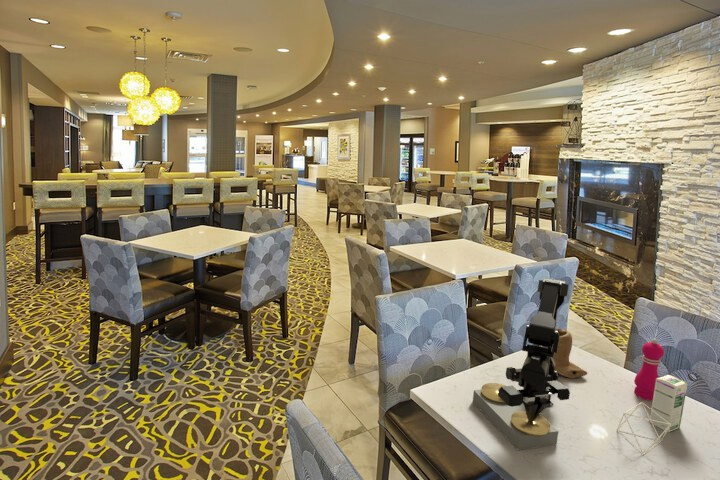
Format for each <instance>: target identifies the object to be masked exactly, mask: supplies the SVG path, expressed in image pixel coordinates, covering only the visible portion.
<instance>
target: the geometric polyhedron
mask: <svg viewBox="0 0 720 480" xmlns="http://www.w3.org/2000/svg"><path fill="white" fill-rule="evenodd" d="M641 405H642V406H643V408H644V411H645V413H646V414H647V417H648V418H646V417H642V416H638V415H633V414H634V413H635V412H636V411H637V409H638V408H639V407H640V406H641ZM646 407H647V408H648V409H650V411H651V410H652V409H651V408H652V407H649V406H648V405H647V404H646V403H644V402H643V401H641V402H639V403H638V404H636V405H635V406H633V407H632V408H630V409H628V410H626V411H625V412H623V414H622V416H621V418H620V421H619V424H618V425H617V428H616V432H618V433H619V434H620V435H621V436H622V437H623V438H624V439H625V440H626V441H627V442H629V444H631V446H632V447H634V448H635V450H637V451H638V453H640V454H641V455H643V456H646V454H648V452H650V451H652V449H653V448H655V447H656V446H658V445H659V444H660V443H661V442H662V441H663V439H664V437H665V436H666V434H667V433H668V432H667V431H668V429H669V428H670V426H671V424H670V423H669V422H668V423H664V422H660V421H656V420H651V419H650V415H649V413H648V410H647V409H646ZM633 409H634V410H633ZM631 410H632V412H631V413H630V414H629V413H628V412H630V411H631ZM652 411H653V410H652ZM653 412H654V411H653ZM655 413H656V412H655ZM656 414H657V413H656ZM657 415H658V414H657ZM658 416H660V415H658ZM630 417H635V418H639V419H643V420H647V421H651V423H650V424H651V425H652V427H653V430H654V431H655V434H656V435H657V438H656V439H655V438H653V437H648V436H647V437H646V436H643V435H639V434H635V433H634V430H633V428H632V427H631V424H630V422H629V418H630ZM660 417H661V416H660ZM623 418H625V420H624V419H623ZM661 418H662V417H661ZM662 419H664V418H662ZM623 420H624V421H623ZM664 420H665V419H664ZM622 421H623V422H622ZM652 421H655V422H660V423H664V424H668V425H669V426H668V427H667V428H666V429H665V431H664V430H663V431H662V433H661V434H660V435H659V433H658V431H657V430H656V426H655V425H653V423H652ZM665 421H666V420H665ZM666 422H667V421H666ZM625 423H627V424H628V426H629V429H630V430H631V432H628V431H624V430H620V428H622V426H623V425H624V424H625ZM623 433H626V434H629V435H632V436H633V437H634V439H635V442H636V443H637V445H638V447H639V448H637V447H636V446H635V445H634V444H633V443H632V442H631V441H630V440H628V438H627V437H625V436H624V435H623ZM636 436H637V437H642V438H645V439H650V440H653V441H654V442H653V443H652V444H651V445H650V446H649V447H648V448H647V449H646V451H644V452H643V450H642V447H641V446H640V443H639V441H638V439H637V437H636ZM661 437H662V438H661Z"/></svg>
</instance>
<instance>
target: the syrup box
mask: <svg viewBox="0 0 720 480" xmlns="http://www.w3.org/2000/svg"><path fill="white" fill-rule="evenodd" d="M658 377H659V376H658ZM687 388H688V382H687V381H684V380H683V379H681V378H678V377H675V376H673V375H670V374H667V375H662V376H660V377H659V378H656V383H655V389H654V395H653V400H652V403H651V407H650V408H651V409H652V410H653V411H654V412H653V411H652V410H651V409H650V415H649V417H650V419H651V420H656V421H660V422H664V423H668V422H669V423H670V424H671V426H670V428H669V429H668V431H667V433H671V432H672V431H675V430H678V429H680V428H681V424H682V416H683V411H684V405H685V402H686V401H685V400H686V393H687V390H688V389H687ZM655 412H656V413H657V414H658V415H660V416H661V417H662V418H664V419H665V420H666V421H667V422H666V421H665V420H664V419H662V418H661V417H660V416H658V415H657V414H656V413H655ZM648 421H649V423H650V424H652V423H653V425H654V427H657V428H659V429H660V430H663V432H664V431H665V429H666V428H667V427H668V426H669V425H668V424H664V423H660V422H655V421H652V423H651V421H650V420H648ZM653 425H652V426H653ZM665 432H666V431H665Z"/></svg>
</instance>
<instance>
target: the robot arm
mask: <svg viewBox="0 0 720 480" xmlns="http://www.w3.org/2000/svg"><path fill="white" fill-rule="evenodd" d="M537 285H538V286H537V291H536V292H537V293H539V301H540V302H539V307H538V310H537V314H535V315H533V316H531V318H530V321H529V324H527V325H526V327H525V332H524V338H523V344H522V349H521V351H522V352H527V353H526V358H525V360H524V362H523V364H522V368H516V367H513V366H510V367H509V366H507V367H506V369H505V377H506V379H507V380H510V381H511V382H516V383H517V385H518V386H519V387H522V389H518V388H516V387H514V385H506V386H503V387H500V388H499V390H498V396H499V397H500V398H501V399H502V400H503V401H504V402H505V403H506V404H507V405H508V406H511V407H513V406H520V405H521V404H522V403H523V404H524V407H525V410H526V414H527V418H528V421H529V422H533V421H534V420H535V419H536V418H537V416H538V415H539V414H540V415H541V413H542V411H544V410H545V409H546V407H551V406H554V402H552V401H551V399H552V395H555V394H557V395H556V396H557V399H558V400H559V401H565V400H566V401H567V400H570V395H571V394H570V393H571V392H570V390H569V388H568V387H567V386H566V385H564V384H563V383H561V382H560V381H559V379H560V378H559V377H560V376H559V375H558V373H557V371H555V365H556V364H555V362H554V359H553V357H554V353H557V350H558V344H559V338H560V336H559V334H558V331H556V328H557V318H558V311H559V308H560V307H561V306H562V305H563V304H564V303H565V300H566V298H568V296H569V289H570V284H567V283H566V280H560V279H553V278H547V277H544V279H543V280H541V279H539V280H538V284H537ZM527 343H529V344H527ZM552 347H553V349H552Z"/></svg>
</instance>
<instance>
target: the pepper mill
mask: <svg viewBox="0 0 720 480" xmlns="http://www.w3.org/2000/svg"><path fill="white" fill-rule="evenodd" d="M658 341H659V340H658V339H657V338H652V339H651V341H649V342H645V343H644V344H643V346H642V347H641V352H642V354H643V355H642V357H641V359H642V361H643V363H642V367H641V369H640V370H639V371H638V373H637V374H635V377H634V384H635V387H634V391H633V393H634V395H635V396H637V397H638V398H639V399H642V400H646V401H653V395H654V389H655V383H656V378H659V374H658V367H659V365H660V364H661V361H662V360H661V358H663V357H664V354H665V350H664V348H663V346H662V345H661V344H659V342H658Z"/></svg>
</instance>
